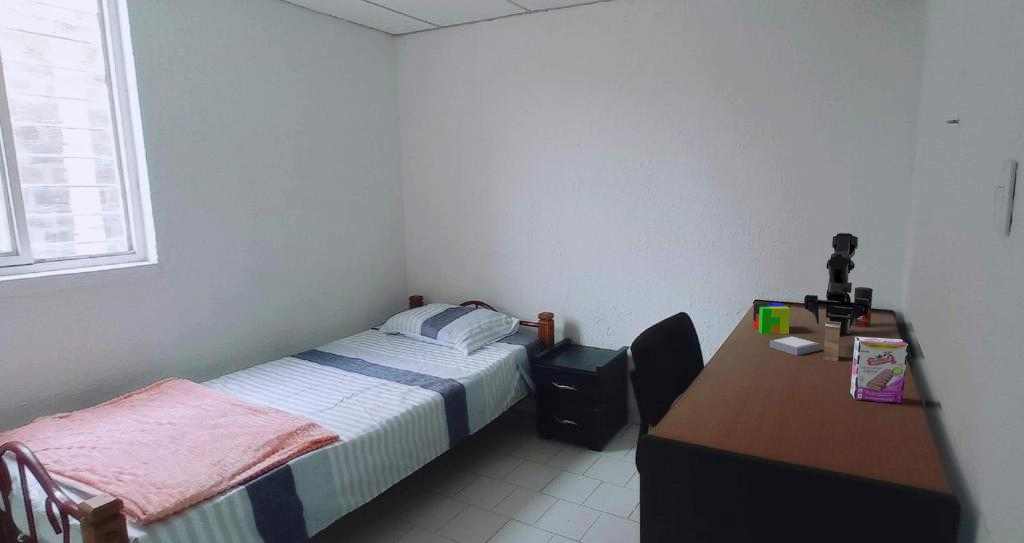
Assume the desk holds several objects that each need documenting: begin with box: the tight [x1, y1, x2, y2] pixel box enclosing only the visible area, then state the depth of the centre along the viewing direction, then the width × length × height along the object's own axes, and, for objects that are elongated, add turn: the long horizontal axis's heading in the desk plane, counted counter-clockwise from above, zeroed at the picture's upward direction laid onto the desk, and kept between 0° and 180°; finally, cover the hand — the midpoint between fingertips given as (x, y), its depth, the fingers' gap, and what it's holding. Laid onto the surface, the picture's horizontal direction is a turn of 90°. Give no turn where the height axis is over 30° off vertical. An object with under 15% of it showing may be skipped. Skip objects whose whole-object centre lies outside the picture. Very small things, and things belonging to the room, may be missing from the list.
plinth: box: [769, 335, 821, 356], centre depth 191 cm, size 11×11×3 cm
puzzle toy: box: [752, 302, 791, 335], centre depth 215 cm, size 10×10×10 cm
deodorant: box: [852, 286, 873, 329], centre depth 217 cm, size 6×6×15 cm
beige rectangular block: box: [823, 320, 841, 362], centre depth 179 cm, size 4×4×12 cm
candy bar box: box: [850, 336, 909, 403], centre depth 145 cm, size 11×5×16 cm, turn 71°
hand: (833, 325), depth 181 cm, fingers open, 9 cm apart
